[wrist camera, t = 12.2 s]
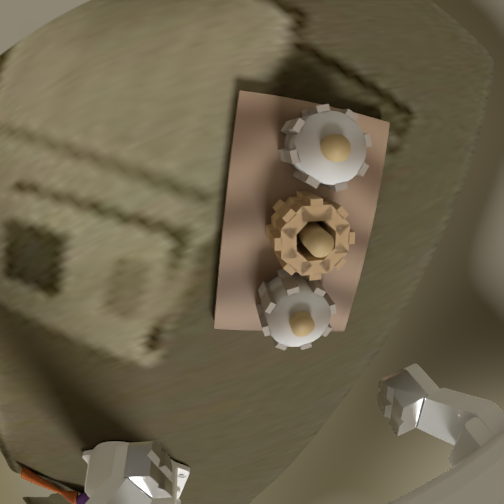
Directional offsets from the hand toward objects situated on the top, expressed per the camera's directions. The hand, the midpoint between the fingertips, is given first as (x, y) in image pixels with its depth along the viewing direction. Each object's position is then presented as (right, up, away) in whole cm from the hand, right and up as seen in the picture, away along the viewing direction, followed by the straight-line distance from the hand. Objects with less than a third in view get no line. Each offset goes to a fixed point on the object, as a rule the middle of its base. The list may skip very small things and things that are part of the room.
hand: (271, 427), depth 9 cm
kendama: (-43, -46, +34) cm, 72 cm away
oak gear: (+4, +8, +18) cm, 20 cm away
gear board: (+4, +9, +19) cm, 22 cm away
